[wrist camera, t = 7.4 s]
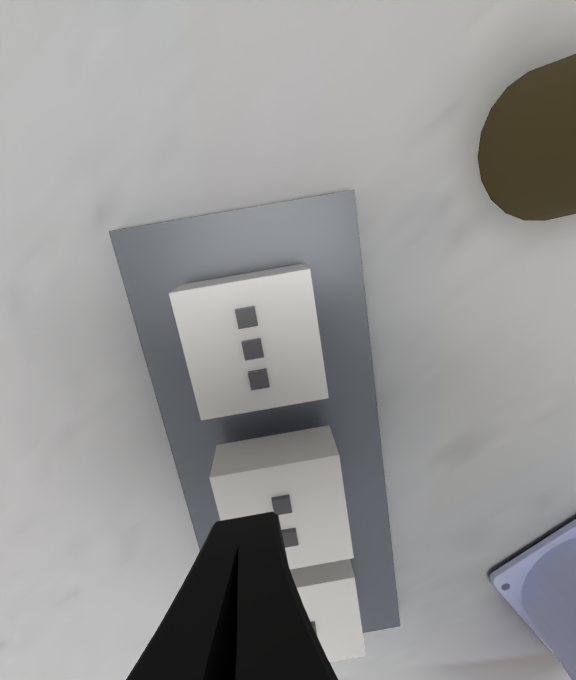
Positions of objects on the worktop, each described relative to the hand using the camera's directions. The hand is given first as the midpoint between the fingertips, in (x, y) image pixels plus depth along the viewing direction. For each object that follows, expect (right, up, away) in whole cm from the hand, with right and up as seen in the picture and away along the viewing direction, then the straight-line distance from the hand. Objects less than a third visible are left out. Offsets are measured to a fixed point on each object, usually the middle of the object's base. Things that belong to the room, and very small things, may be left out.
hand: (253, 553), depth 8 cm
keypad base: (0, -1, +11) cm, 11 cm away
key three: (-1, +5, +8) cm, 9 cm away
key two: (+1, -2, +9) cm, 9 cm away
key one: (+2, -8, +12) cm, 15 cm away
